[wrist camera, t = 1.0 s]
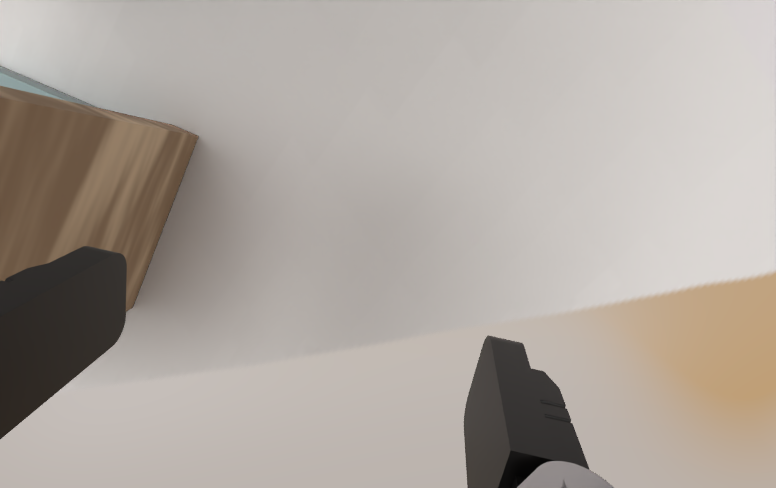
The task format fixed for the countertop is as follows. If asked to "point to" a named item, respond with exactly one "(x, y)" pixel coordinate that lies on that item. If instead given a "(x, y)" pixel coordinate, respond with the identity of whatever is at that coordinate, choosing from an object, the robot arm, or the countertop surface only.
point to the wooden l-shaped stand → (84, 182)
